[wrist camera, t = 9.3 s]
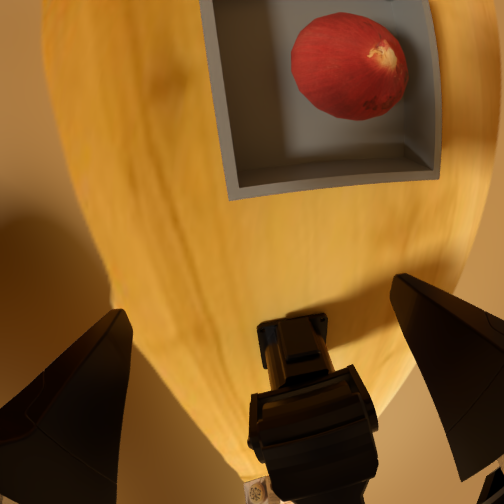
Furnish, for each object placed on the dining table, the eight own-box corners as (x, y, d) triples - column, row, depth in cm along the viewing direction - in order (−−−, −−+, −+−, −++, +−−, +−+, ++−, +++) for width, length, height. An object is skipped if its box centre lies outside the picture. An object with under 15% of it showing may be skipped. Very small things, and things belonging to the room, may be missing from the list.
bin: (403, 161, 19) (439, 179, 15) (227, 178, 18) (229, 201, 14) (389, -1, 12) (424, -15, 8) (200, -7, 12) (194, -36, 8)
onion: (377, 57, 14) (461, 48, 7) (348, 129, 16) (424, 156, 9) (296, 16, 12) (348, -34, 5) (264, 93, 15) (297, 86, 8)
